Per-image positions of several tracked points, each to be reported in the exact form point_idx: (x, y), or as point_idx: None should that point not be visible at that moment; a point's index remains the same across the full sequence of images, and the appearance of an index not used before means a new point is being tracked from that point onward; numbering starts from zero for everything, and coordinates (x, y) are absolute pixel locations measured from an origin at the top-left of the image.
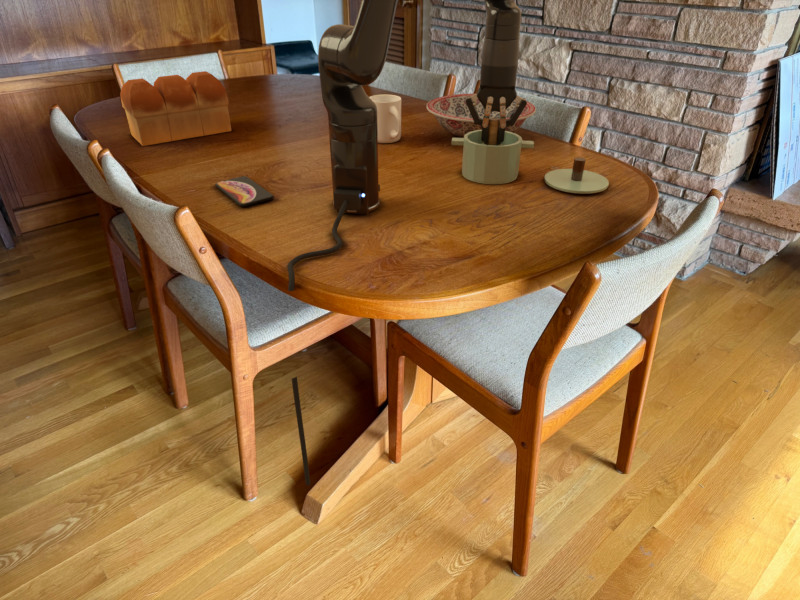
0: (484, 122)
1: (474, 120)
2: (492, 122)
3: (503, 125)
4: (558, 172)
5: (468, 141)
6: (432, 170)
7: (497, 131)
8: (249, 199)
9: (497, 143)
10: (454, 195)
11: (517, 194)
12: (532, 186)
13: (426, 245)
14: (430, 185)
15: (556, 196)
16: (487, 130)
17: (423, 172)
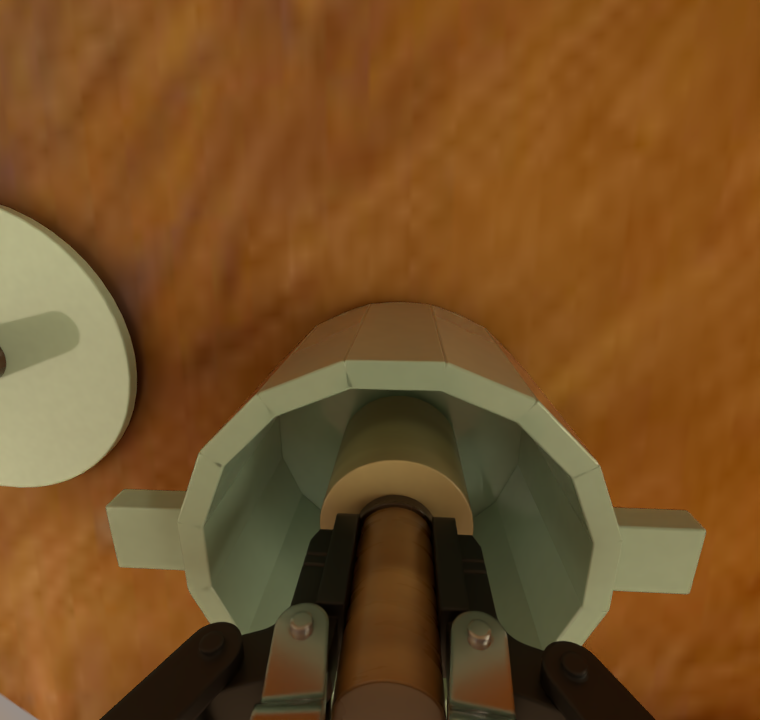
0: (491, 660)
1: (609, 683)
2: (407, 661)
3: (297, 623)
4: (72, 435)
5: (596, 466)
6: (682, 455)
7: (357, 592)
8: None
9: (358, 521)
10: (600, 105)
11: (257, 177)
12: (191, 300)
13: None
14: (723, 244)
15: (67, 178)
16: (445, 592)
17: (735, 425)
